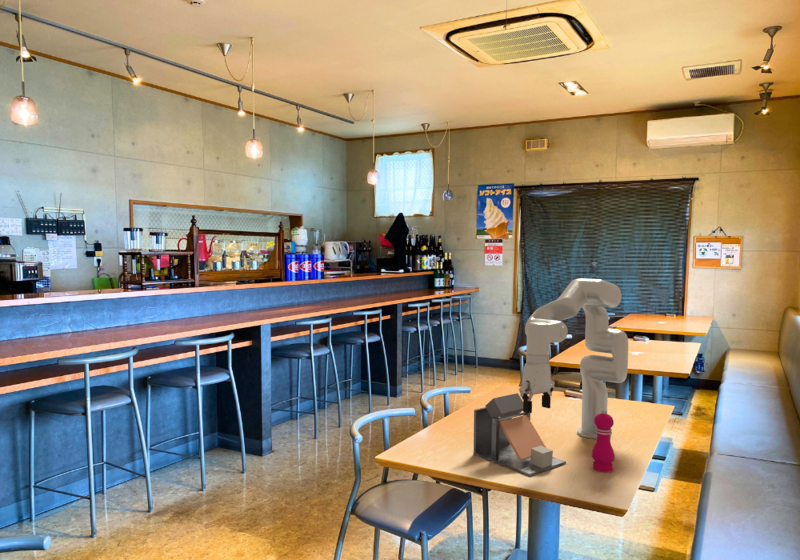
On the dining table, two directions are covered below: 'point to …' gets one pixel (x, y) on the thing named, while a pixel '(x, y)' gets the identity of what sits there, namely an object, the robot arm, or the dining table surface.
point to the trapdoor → (515, 424)
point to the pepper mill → (603, 443)
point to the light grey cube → (541, 456)
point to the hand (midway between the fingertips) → (536, 409)
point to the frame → (502, 444)
